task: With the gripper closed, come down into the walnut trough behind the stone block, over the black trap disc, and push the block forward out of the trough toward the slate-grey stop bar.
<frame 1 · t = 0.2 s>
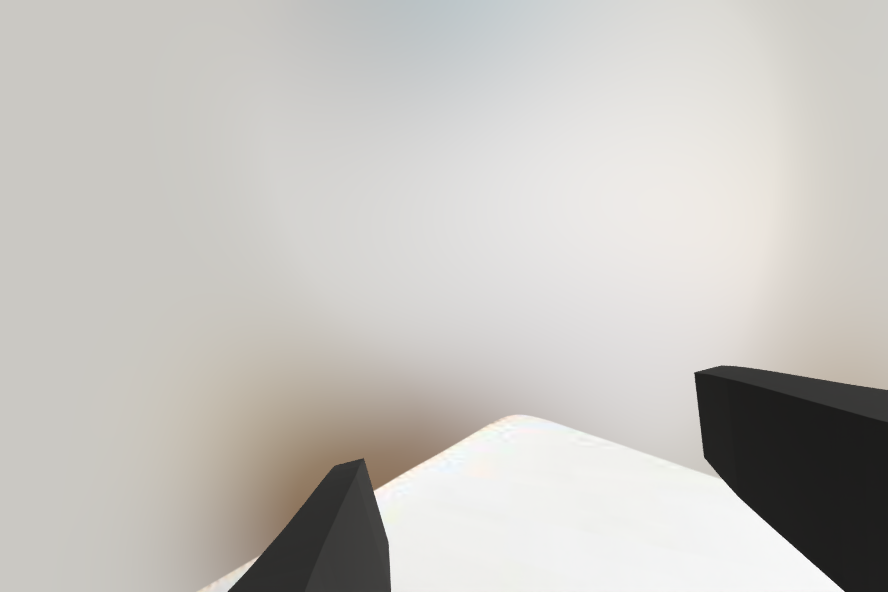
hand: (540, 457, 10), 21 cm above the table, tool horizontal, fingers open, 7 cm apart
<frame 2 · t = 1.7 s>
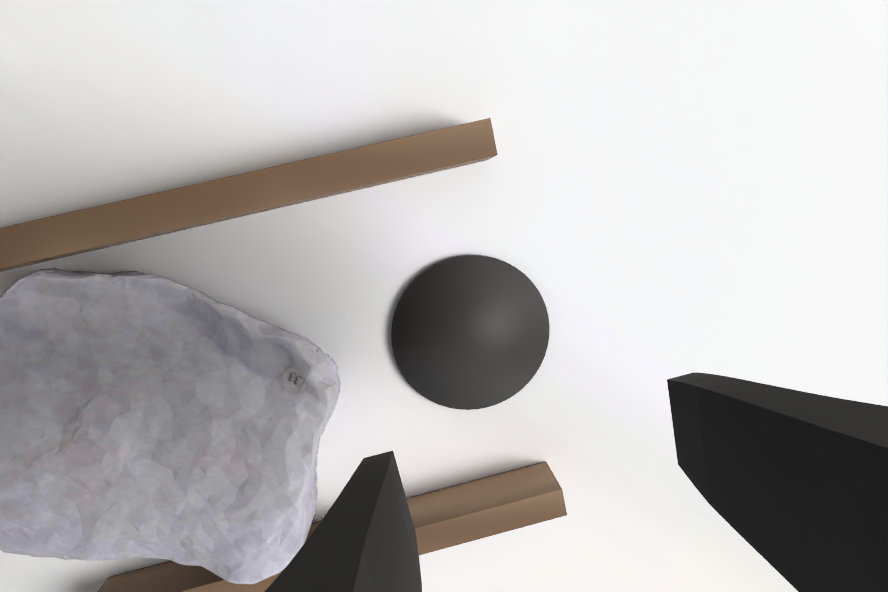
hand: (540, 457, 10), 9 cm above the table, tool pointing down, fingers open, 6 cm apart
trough: (288, 379, 19), on the table
stone block: (191, 392, 19), on the table
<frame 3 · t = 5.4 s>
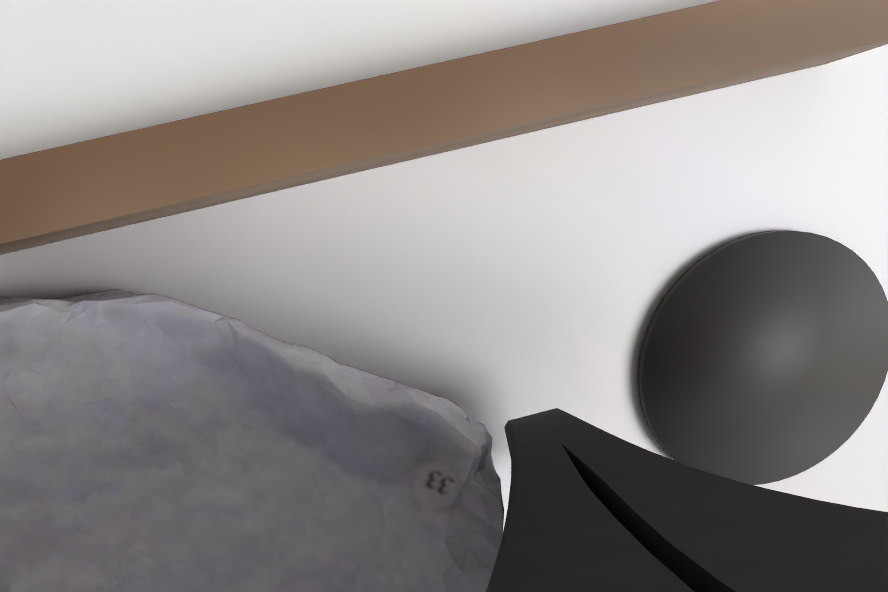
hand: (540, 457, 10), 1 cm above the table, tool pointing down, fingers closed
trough: (466, 440, 11), on the table
stone block: (230, 490, 11), on the table, touching gripper
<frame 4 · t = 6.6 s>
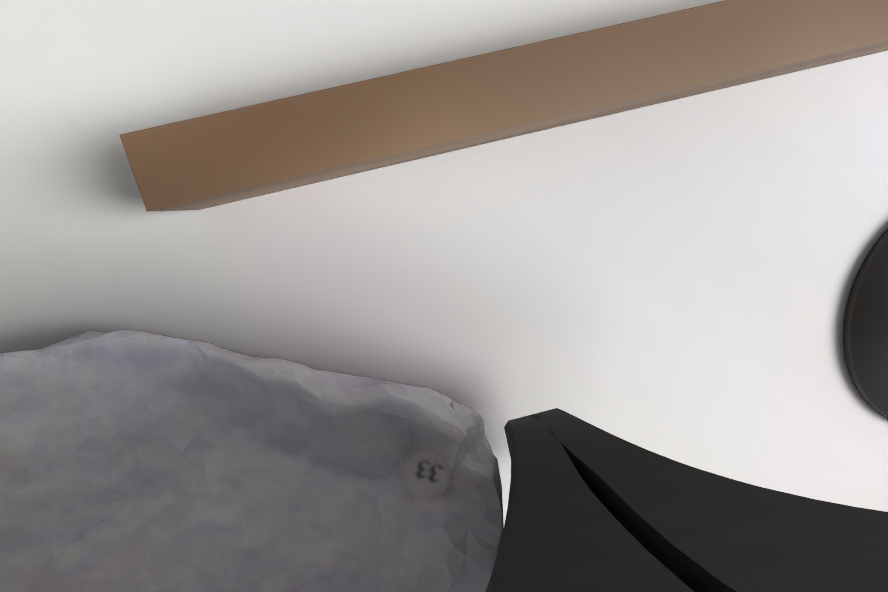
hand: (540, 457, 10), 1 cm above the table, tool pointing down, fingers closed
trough: (679, 385, 11), on the table
stone block: (241, 508, 11), on the table, touching gripper
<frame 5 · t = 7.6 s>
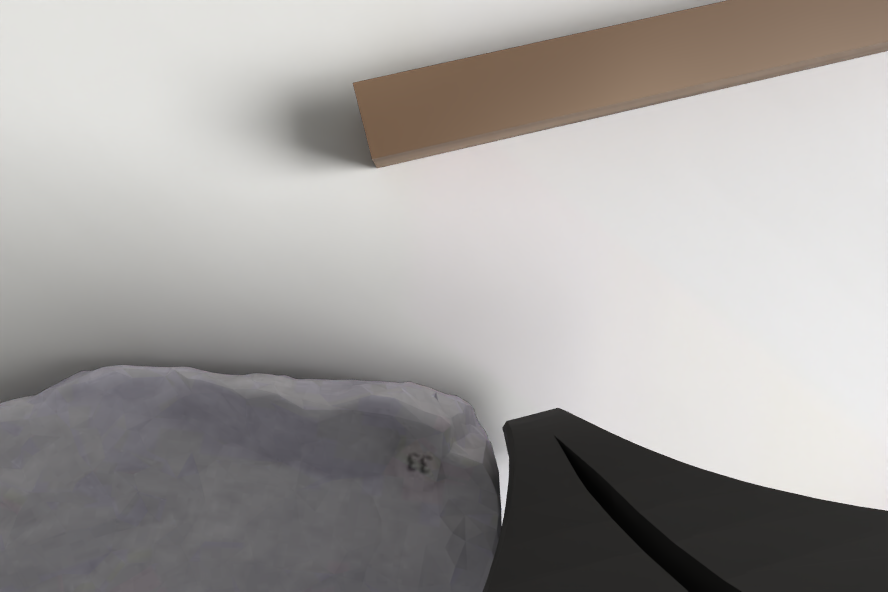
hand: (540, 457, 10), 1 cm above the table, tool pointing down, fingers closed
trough: (820, 348, 11), on the table
stone block: (256, 523, 11), on the table
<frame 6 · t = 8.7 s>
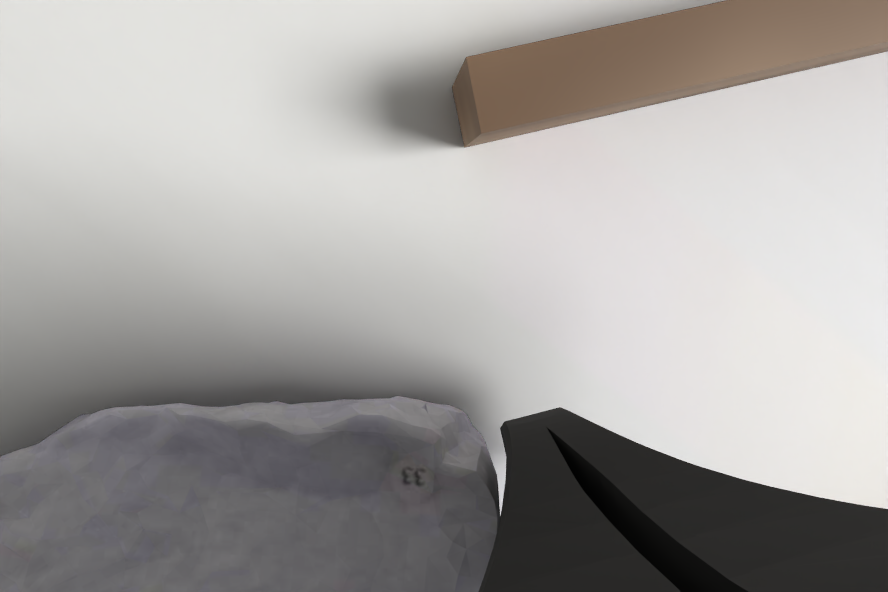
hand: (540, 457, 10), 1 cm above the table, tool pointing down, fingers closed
stone block: (269, 544, 12), on the table, touching gripper
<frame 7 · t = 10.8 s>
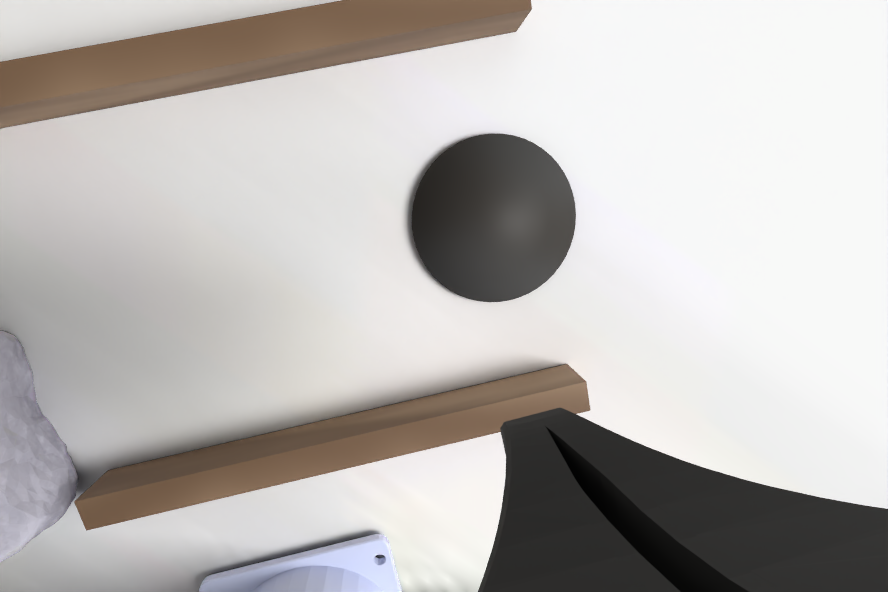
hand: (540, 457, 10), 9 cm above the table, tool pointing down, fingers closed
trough: (302, 260, 18), on the table
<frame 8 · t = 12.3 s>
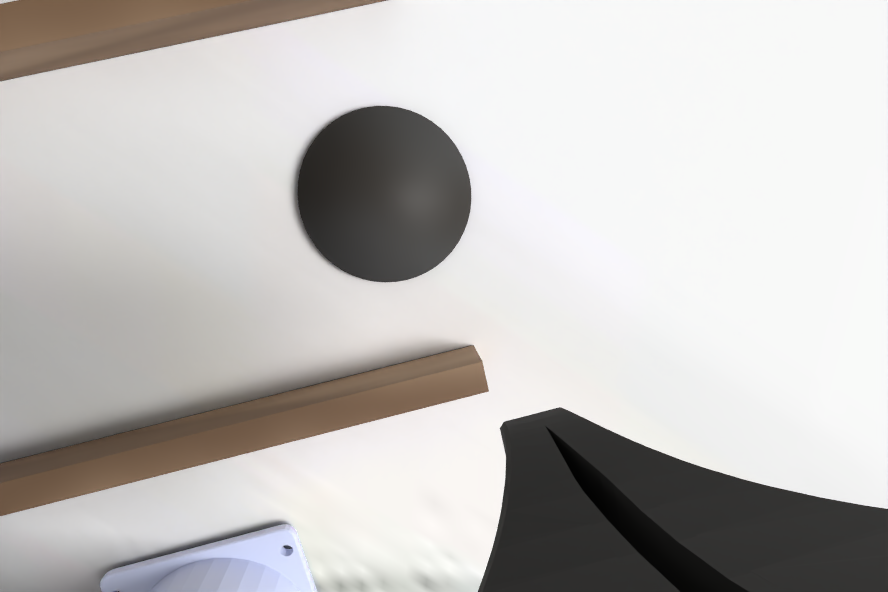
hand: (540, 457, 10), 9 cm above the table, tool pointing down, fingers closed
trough: (186, 243, 17), on the table
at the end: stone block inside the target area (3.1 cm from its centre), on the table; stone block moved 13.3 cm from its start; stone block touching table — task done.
